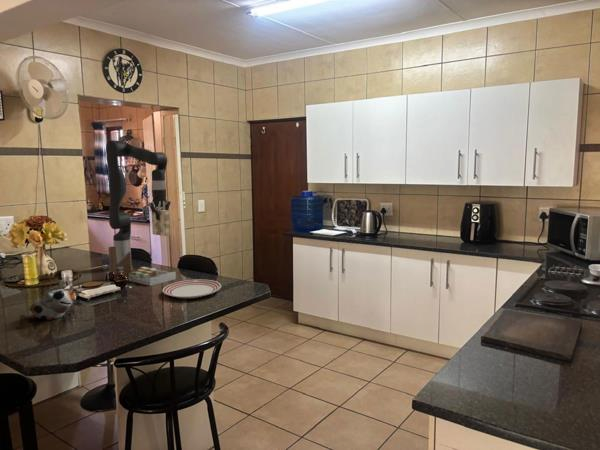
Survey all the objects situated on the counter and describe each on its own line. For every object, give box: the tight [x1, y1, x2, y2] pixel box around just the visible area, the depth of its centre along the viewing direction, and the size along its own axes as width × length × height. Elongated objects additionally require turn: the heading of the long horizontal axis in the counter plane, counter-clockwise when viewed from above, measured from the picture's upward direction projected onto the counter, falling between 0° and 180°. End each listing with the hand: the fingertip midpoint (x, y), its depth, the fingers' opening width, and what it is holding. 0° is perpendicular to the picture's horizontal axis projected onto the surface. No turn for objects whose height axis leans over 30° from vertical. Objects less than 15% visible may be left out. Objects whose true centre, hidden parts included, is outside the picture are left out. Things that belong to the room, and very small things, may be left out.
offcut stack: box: [135, 266, 160, 279], centre depth 235 cm, size 14×7×6 cm, turn 55°
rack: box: [128, 267, 177, 286], centre depth 238 cm, size 18×16×4 cm
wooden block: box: [108, 246, 132, 280], centre depth 239 cm, size 4×11×18 cm, turn 123°
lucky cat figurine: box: [28, 288, 77, 321], centre depth 181 cm, size 15×12×14 cm
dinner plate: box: [162, 279, 222, 300], centre depth 213 cm, size 27×27×3 cm
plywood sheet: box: [150, 209, 171, 237], centre depth 247 cm, size 12×2×14 cm, turn 55°
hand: (160, 219), depth 247 cm, fingers closed on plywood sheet, 2 cm apart
